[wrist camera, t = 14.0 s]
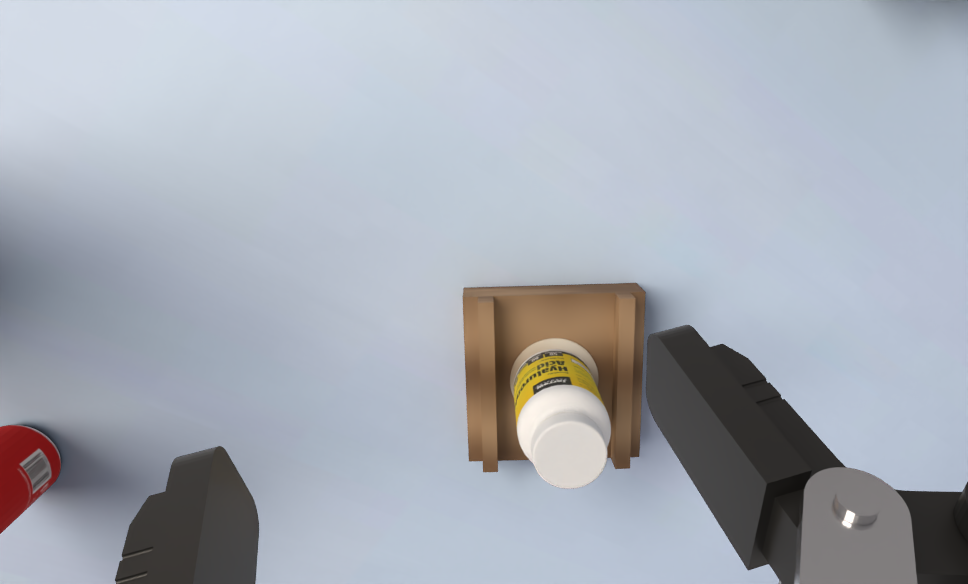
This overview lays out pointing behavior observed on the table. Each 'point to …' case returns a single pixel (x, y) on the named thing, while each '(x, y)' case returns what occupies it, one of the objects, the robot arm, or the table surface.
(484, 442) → the display plinth
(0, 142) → the table surface
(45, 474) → the beverage can
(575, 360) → the supplement bottle
